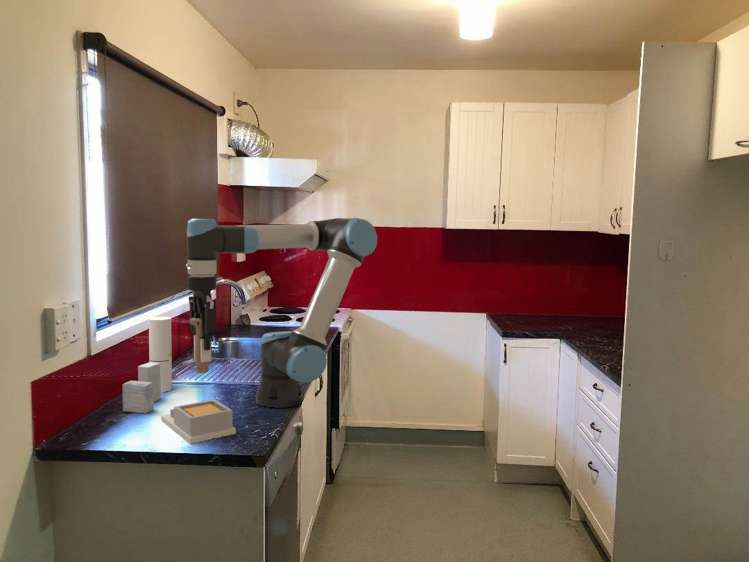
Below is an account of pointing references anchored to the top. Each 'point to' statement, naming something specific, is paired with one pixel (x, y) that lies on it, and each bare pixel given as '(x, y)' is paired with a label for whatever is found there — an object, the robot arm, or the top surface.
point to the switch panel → (200, 422)
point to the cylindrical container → (161, 349)
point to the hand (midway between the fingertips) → (202, 359)
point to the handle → (199, 347)
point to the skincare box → (151, 377)
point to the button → (201, 410)
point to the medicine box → (138, 396)
